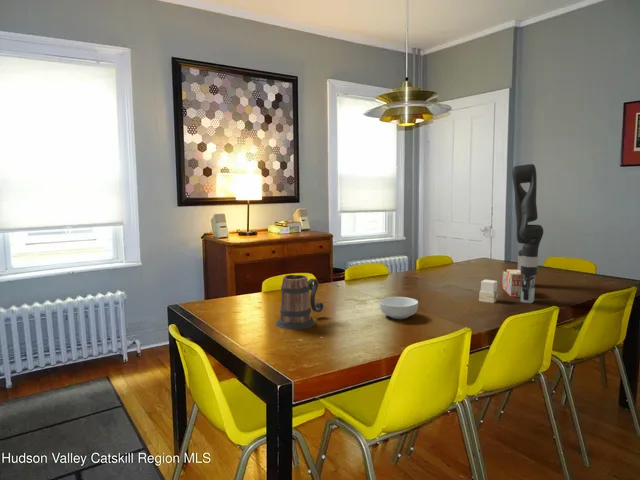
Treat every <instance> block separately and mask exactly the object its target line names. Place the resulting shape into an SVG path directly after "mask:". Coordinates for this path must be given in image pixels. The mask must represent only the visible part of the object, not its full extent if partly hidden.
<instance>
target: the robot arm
mask: <svg viewBox="0 0 640 480" xmlns="http://www.w3.org/2000/svg"><path fill="white" fill-rule="evenodd" d="M511 175H512V183H513V190H514V210H515V217H516V218H515V219H516V220H515V221H516V241H517V243H518V244H523V245H522V249H519V251H518V255H517V270H520V271H521V274H522V275H525V277H524V278H523V280H522V292H524V296H523V299H524V300H528V298H529V289H530V288H531V287H535V282H536V276H537V275H538V269H539V268H538V267H539V257H538V256H539V247H540V244H541V241H542V239H543V235H544V227H543V226H542V225H540V224H528V223H531V222H534V221H537V219H538V217H539V215H538V208H537V207H538V206H537V188H538V187H537V186H538V185H537V182H538V181H537V178H538V177H537V176H538V175H537V169H536V166H535V164H533V163H529V164H522V165H521V164H519V165H515V166H513V167H512V173H511ZM528 183H529V188H528V190H527V191H526V190H525V189H524V188H523V186H522V184H528ZM525 288H526V290H525Z"/></svg>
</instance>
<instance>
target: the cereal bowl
mask: <svg viewBox="0 0 640 480" xmlns="http://www.w3.org/2000/svg"><path fill="white" fill-rule="evenodd" d="M379 308H380V310H381V312H382V314H384V315H385V316H388V317H389V318H391V319H395V320H404V319H407V318H409V317H411V316H413V315H415V314H416V312H417V311H418V308H419V301H418V300H417V299H415V298H412V297H411V298H410V297H405V296H387V297H384V298H381V299H380V300H379Z"/></svg>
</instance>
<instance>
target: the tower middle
mask: <svg viewBox="0 0 640 480" xmlns="http://www.w3.org/2000/svg"><path fill="white" fill-rule="evenodd" d="M480 291H482V292H489V293H494V292H496V291H498V280H494V279H493V280H492V279H483V280H481V281H480Z"/></svg>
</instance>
